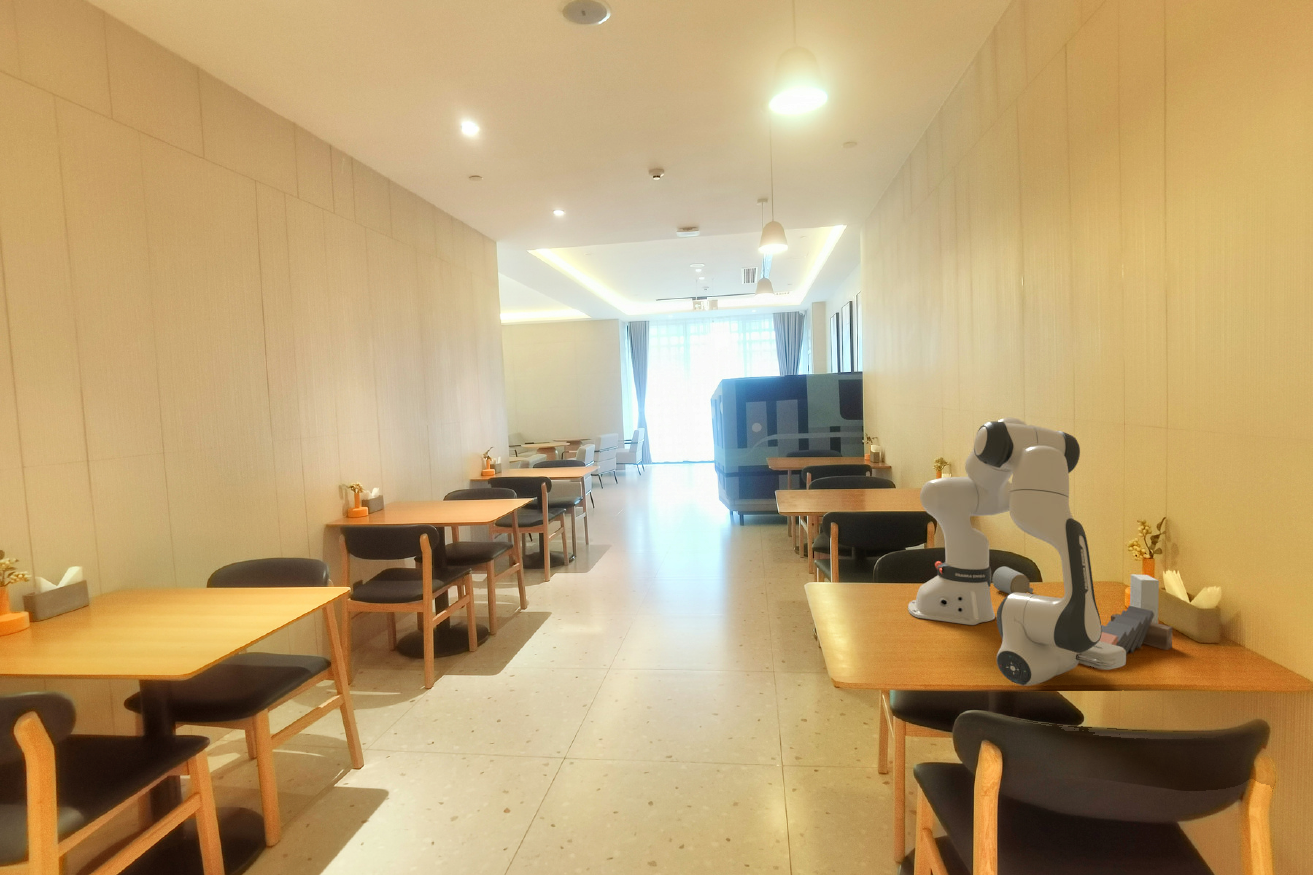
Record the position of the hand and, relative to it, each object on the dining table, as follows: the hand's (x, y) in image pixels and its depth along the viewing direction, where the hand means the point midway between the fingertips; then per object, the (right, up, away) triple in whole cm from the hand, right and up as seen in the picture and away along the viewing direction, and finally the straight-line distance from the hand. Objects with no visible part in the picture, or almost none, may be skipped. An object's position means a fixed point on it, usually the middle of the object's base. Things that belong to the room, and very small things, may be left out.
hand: (1087, 637), depth 147 cm
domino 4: (+11, -5, +7) cm, 14 cm away
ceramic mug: (+14, -3, +55) cm, 57 cm away
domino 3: (+7, -6, +5) cm, 10 cm away
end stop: (+23, -5, +14) cm, 27 cm away
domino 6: (+17, -5, +11) cm, 20 cm away
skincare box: (+34, -4, +28) cm, 44 cm away
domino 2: (+4, -6, +3) cm, 7 cm away
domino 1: (0, -6, +1) cm, 6 cm away
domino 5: (+14, -5, +9) cm, 17 cm away
